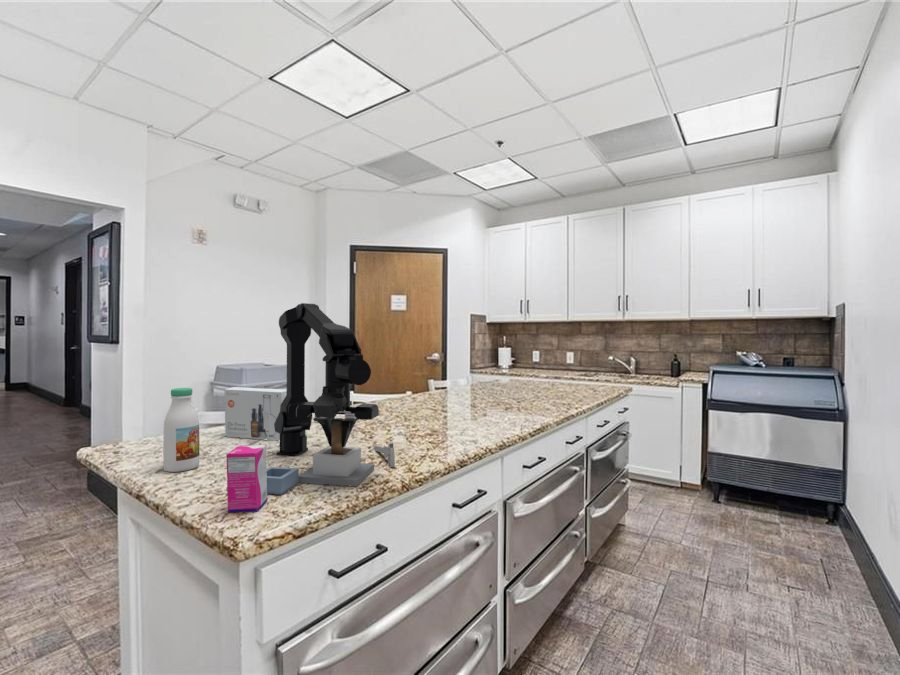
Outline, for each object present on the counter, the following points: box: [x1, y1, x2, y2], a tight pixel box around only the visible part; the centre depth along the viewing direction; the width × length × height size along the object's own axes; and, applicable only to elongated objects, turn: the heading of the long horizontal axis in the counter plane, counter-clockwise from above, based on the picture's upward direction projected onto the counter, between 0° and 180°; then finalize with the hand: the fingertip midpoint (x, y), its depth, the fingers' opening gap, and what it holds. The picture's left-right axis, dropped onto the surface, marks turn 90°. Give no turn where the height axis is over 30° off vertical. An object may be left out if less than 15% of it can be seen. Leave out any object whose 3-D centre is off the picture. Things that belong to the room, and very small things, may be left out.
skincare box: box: [224, 386, 287, 441], centre depth 141 cm, size 21×5×16 cm, turn 77°
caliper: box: [372, 442, 396, 468], centre depth 120 cm, size 20×1×6 cm, turn 23°
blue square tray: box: [266, 466, 300, 496], centre depth 96 cm, size 7×7×4 cm
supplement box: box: [226, 444, 268, 513], centre depth 86 cm, size 6×6×12 cm
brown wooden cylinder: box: [331, 417, 344, 455], centre depth 104 cm, size 3×3×10 cm
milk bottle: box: [162, 387, 200, 473], centre depth 109 cm, size 8×8×20 cm
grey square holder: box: [299, 445, 375, 487], centre depth 104 cm, size 14×12×6 cm
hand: (337, 446), depth 104 cm, fingers closed on brown wooden cylinder, 3 cm apart
